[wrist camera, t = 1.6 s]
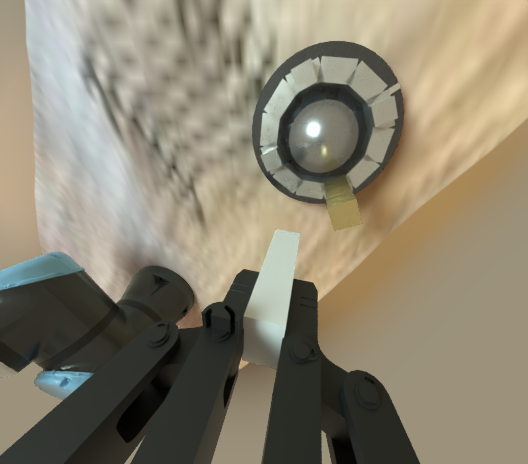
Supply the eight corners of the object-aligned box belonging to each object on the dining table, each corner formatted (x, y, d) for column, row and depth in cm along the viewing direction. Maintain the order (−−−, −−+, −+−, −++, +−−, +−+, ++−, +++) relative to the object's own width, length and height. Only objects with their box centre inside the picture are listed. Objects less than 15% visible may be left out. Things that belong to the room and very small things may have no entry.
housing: (283, 213, 34) (276, 233, 28) (234, 95, 28) (212, 89, 22) (407, 173, 28) (432, 188, 22) (382, 6, 21) (408, -37, 15)
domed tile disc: (288, 204, 31) (276, 246, 21) (248, 102, 26) (206, 93, 16) (394, 170, 26) (443, 202, 16) (370, 34, 21) (421, -44, 11)
